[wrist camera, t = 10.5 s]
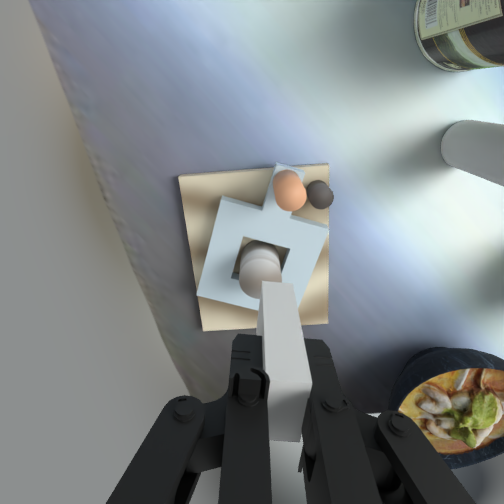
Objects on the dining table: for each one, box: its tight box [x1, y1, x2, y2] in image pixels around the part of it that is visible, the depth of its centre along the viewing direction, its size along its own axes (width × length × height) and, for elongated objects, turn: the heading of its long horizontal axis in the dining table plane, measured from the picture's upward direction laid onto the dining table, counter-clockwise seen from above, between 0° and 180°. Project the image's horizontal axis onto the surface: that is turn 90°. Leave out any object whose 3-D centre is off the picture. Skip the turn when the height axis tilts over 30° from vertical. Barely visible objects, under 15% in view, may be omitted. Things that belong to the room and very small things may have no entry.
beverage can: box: [441, 120, 504, 186], centre depth 33 cm, size 5×5×12 cm
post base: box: [178, 163, 334, 331], centre depth 40 cm, size 20×16×7 cm
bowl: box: [388, 347, 504, 469], centre depth 46 cm, size 17×17×10 cm
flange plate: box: [196, 162, 329, 311], centre depth 38 cm, size 17×12×7 cm
